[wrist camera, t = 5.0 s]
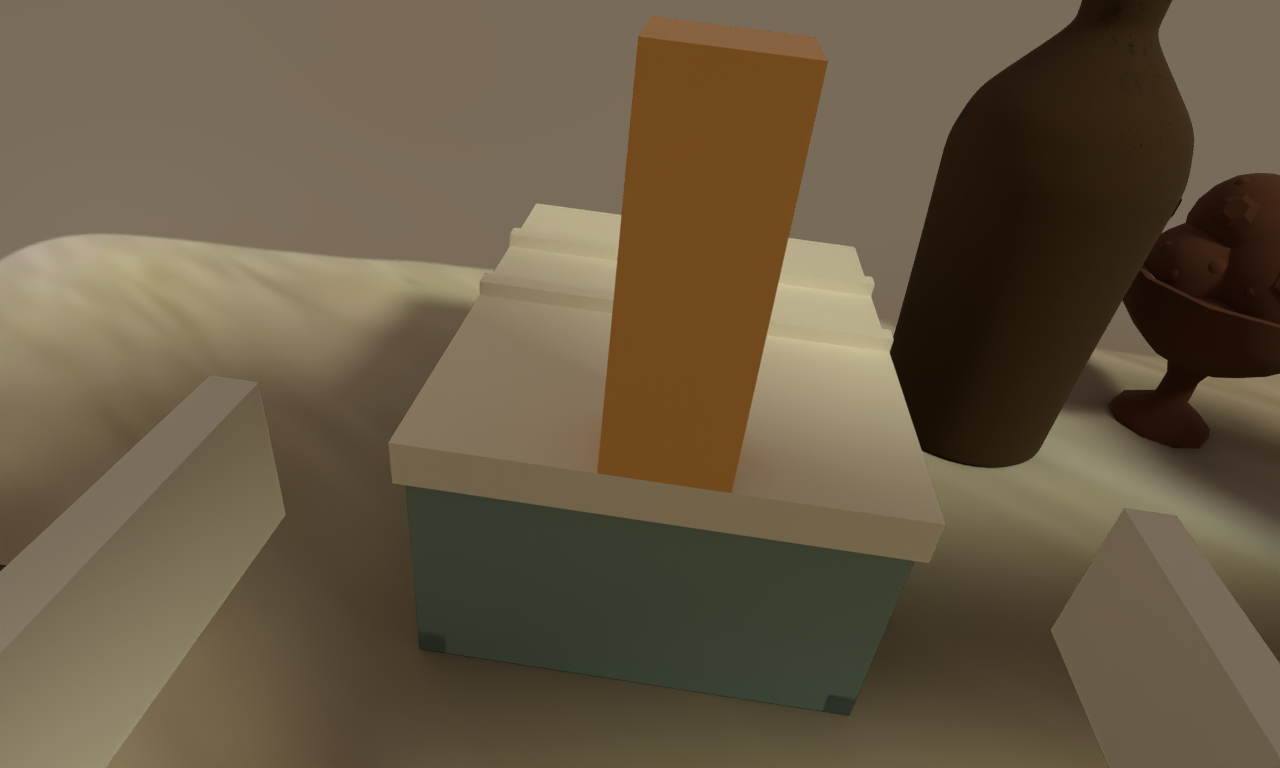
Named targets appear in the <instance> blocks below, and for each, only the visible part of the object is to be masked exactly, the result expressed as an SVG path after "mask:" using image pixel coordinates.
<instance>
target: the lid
mask: <svg viewBox="0 0 1280 768" xmlns="http://www.w3.org/2000/svg"><path fill="white" fill-rule="evenodd" d="M827 63H828V60H827V58H826V56H825V54H824V52H823V51H822V49H821V47H820V45H819V43H818V41H817V39H816V37H810V36H803V35H795V34H787V33H779V32H772V31H764V30H756V29H749V28H740V27H733V26H725V25H718V24H710V23H702V22H695V21H686V20H679V19H671V18H663V17H656V16H651V17H650V19H649V20H648V22H647V23H646V25H645V27H644V28H643V30H642V31H641V33H640V35H639V36H638V46H637V55H636V67H635V77H634V87H633V98H632V109H631V119H630V130H629V140H628V151H627V162H626V172H625V183H624V195H623V204H622V215H617V214H609V213H602V212H595V211H588V210H580V209H573V208H566V207H558V206H551V205H544V204H536V205H535V207H534V208H533V210H532V212H531V213H530V215H529V217H528V218H527V220H526V221H525V223H524V225H523V226H522V228H521V229H520V228H514V229H513V230H512V232H511V234H510V247H509V249H508V250H507V253H506V254H505V255H504V257H503V259H502V260H501V262H500V263H499V265H498V266H497V268H496V270H495V271H494V273H493V274H488V273H485V274H484V276H483V277H482V279H481V280H480V296H479V297H478V299H477V300H476V302H475V304H474V305H473V307H472V308H471V310H470V312H469V313H468V315H467V316H466V318H465V320H464V321H463V323H462V325H461V326H460V328H459V329H458V331H457V333H456V334H455V336H454V337H453V339H452V341H451V342H450V344H449V346H448V347H447V349H446V350H445V352H444V354H443V355H442V357H441V358H440V360H439V362H438V363H437V365H436V366H435V368H434V370H433V371H432V373H431V375H430V376H429V378H428V379H427V381H426V383H425V384H424V386H423V387H422V389H421V391H420V392H419V394H418V396H417V397H416V399H415V400H414V402H413V404H412V405H411V407H410V408H409V410H408V412H407V413H406V415H405V416H404V418H403V420H402V421H401V423H400V425H399V426H398V428H397V429H396V431H395V433H394V434H393V436H392V437H391V439H390V441H389V442H388V445H389V455H390V465H391V476H392V483H393V484H400V485H407V486H413V487H420V488H427V489H434V490H440V491H447V492H454V493H460V494H467V495H474V496H481V497H487V498H494V499H501V500H507V501H514V502H521V503H528V504H534V505H541V506H548V507H554V508H561V509H568V510H575V511H581V512H588V513H595V514H601V515H608V516H615V517H622V518H628V519H635V520H642V521H648V522H655V523H662V524H669V525H675V526H682V527H689V528H695V529H702V530H709V531H716V532H722V533H729V534H736V535H742V536H749V537H756V538H763V539H769V540H776V541H783V542H789V543H796V544H803V545H810V546H816V547H823V548H830V549H836V550H843V551H850V552H857V553H863V554H870V555H877V556H883V557H890V558H897V559H904V560H910V561H917V562H924V563H930V560H931V558H932V556H933V553H934V551H935V549H936V547H937V544H938V542H939V540H940V538H941V535H942V533H943V531H944V528H945V526H946V523H945V520H944V517H943V514H942V511H941V508H940V505H939V502H938V499H937V496H936V493H935V490H934V487H933V484H932V481H931V477H930V474H929V471H928V468H927V465H926V462H925V459H924V456H923V453H922V450H921V447H920V444H919V441H918V438H917V435H916V432H915V429H914V426H913V423H912V420H911V417H910V414H909V411H908V408H907V404H906V401H905V398H904V395H903V392H902V389H901V386H900V383H899V380H898V377H897V374H896V371H895V368H894V365H893V362H892V359H891V356H890V349H891V346H892V343H893V340H894V339H893V336H892V333H891V330H887V329H882V328H881V325H880V322H879V319H878V316H877V314H876V310H875V307H874V304H873V301H872V298H871V295H872V292H873V288H874V281H873V279H872V277H867V276H864V274H863V271H862V268H861V265H860V262H859V258H858V255H857V253H856V249H855V247H850V246H842V245H836V244H828V243H821V242H814V241H807V240H799V239H792V238H789V234H790V229H791V225H792V220H793V216H794V211H795V207H796V202H797V197H798V193H799V188H800V184H801V179H802V175H803V171H804V166H805V161H806V157H807V153H808V148H809V144H810V139H811V135H812V131H813V126H814V122H815V117H816V112H817V108H818V104H819V99H820V95H821V90H822V86H823V81H824V77H825V72H826V67H827Z"/></svg>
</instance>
